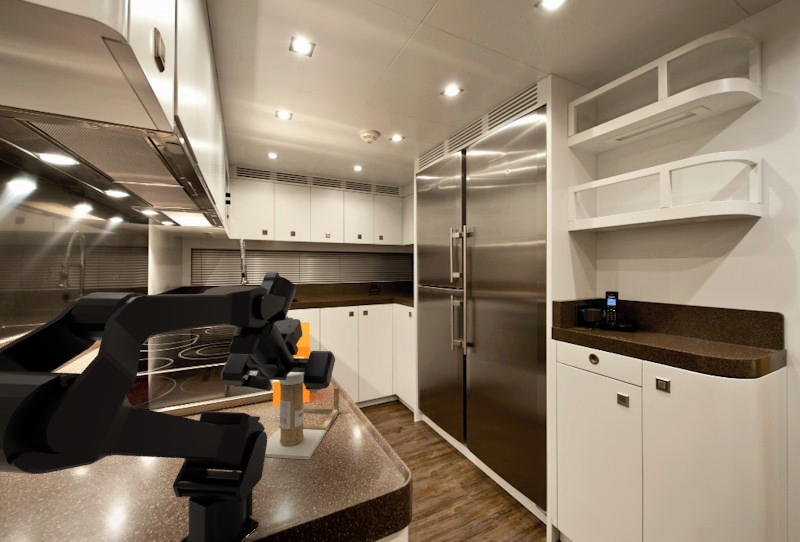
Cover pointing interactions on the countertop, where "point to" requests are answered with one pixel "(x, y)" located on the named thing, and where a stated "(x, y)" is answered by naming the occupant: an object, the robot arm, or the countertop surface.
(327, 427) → the frame
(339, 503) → the countertop surface
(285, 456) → the mat
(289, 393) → the sprinkles bottle
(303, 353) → the orange juice
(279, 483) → the countertop surface
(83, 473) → the countertop surface
